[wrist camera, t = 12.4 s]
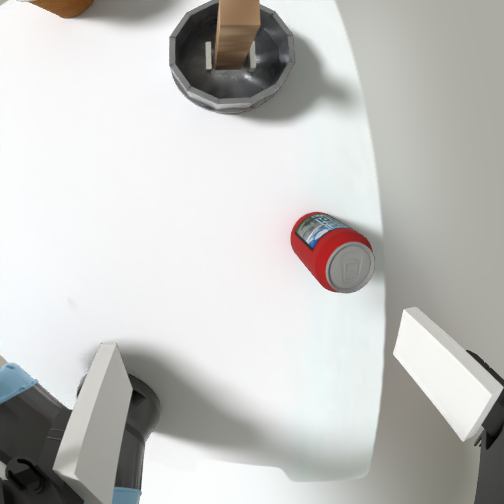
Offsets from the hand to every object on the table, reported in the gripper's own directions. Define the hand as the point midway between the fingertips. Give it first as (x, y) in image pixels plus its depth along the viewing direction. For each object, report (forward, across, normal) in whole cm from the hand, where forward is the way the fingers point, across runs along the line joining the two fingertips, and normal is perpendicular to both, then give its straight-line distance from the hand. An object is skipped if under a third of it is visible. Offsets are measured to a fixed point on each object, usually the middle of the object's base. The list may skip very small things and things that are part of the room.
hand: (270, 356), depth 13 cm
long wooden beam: (+26, +1, +20) cm, 33 cm away
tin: (+27, +1, +20) cm, 33 cm away
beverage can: (+27, +11, -3) cm, 29 cm away
